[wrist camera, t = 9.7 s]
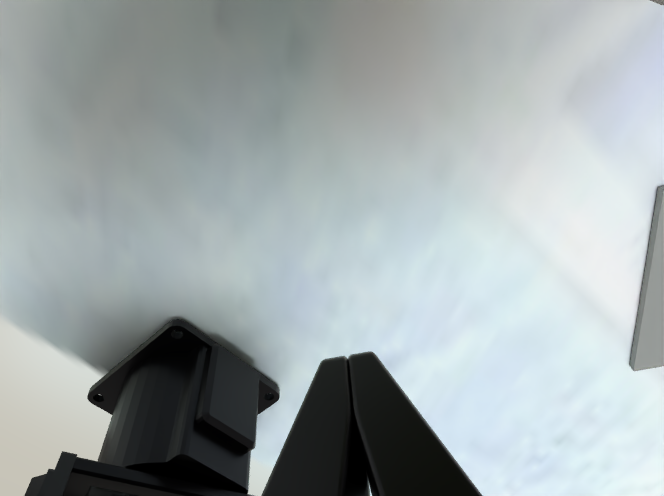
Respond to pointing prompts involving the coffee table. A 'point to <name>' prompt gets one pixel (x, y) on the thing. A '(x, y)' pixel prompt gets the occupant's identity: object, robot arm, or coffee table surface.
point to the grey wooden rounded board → (659, 1)
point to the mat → (651, 299)
